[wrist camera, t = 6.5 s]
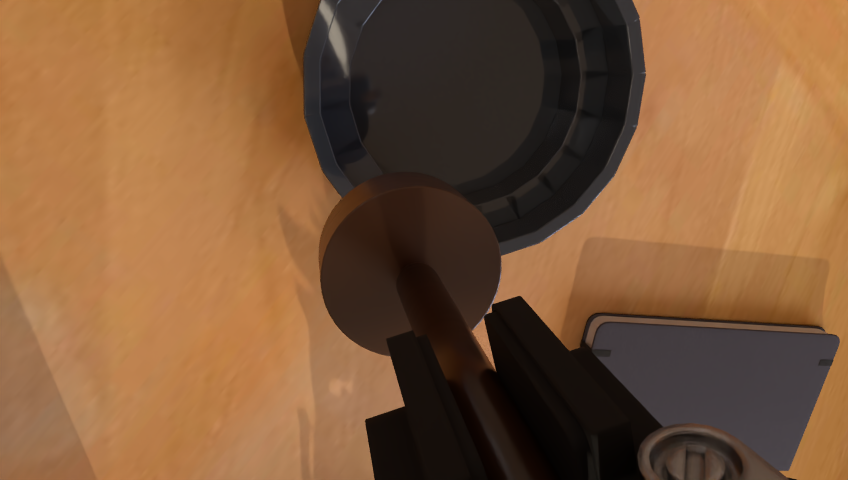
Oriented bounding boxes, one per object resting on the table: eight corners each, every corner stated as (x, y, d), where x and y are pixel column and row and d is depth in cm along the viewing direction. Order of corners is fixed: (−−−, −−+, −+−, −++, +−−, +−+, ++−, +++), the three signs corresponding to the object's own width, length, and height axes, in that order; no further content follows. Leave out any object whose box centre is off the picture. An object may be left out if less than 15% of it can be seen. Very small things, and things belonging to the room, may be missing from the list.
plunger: (296, 199, 17) (277, 605, 5) (462, 150, 17) (849, 397, 5) (346, 347, 19) (430, 922, 6) (496, 299, 19) (838, 743, 7)
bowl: (257, -34, 30) (247, -52, 25) (565, -115, 32) (621, -150, 26) (355, 262, 36) (365, 300, 31) (608, 180, 38) (661, 203, 33)
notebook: (550, 460, 45) (775, 458, 50) (558, 473, 43) (789, 471, 48) (588, 312, 41) (826, 326, 46) (599, 321, 40) (843, 335, 45)
